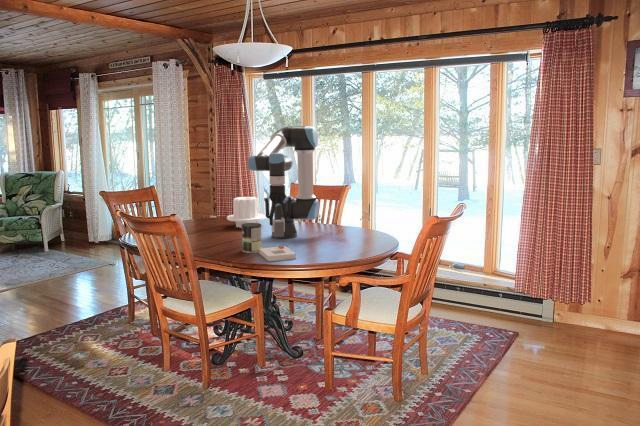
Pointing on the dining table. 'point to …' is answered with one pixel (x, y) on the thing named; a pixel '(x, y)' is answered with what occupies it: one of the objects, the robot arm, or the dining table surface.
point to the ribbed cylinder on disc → (245, 211)
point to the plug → (278, 228)
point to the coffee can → (251, 237)
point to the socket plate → (277, 253)
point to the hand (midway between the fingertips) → (278, 231)
